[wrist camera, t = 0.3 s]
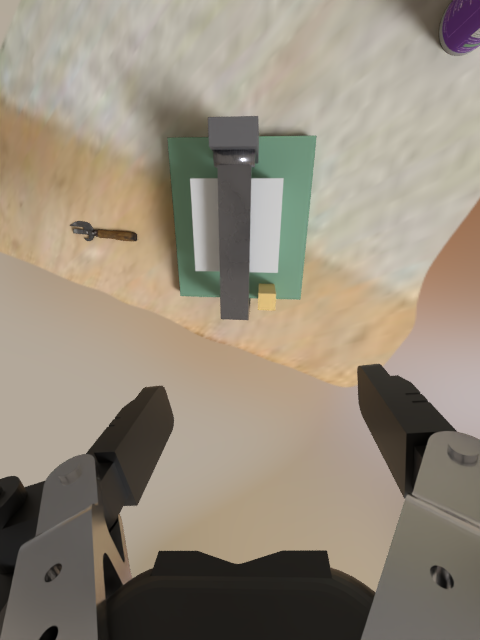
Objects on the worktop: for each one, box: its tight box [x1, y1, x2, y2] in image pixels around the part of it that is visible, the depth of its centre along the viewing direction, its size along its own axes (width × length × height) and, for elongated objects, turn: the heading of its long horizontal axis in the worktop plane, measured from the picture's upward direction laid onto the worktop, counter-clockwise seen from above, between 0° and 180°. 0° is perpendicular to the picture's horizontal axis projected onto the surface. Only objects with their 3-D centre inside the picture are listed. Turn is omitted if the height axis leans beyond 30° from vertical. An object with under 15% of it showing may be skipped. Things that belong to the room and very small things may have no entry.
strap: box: [213, 149, 255, 320], centre depth 28 cm, size 16×4×6 cm, turn 0°
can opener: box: [70, 221, 137, 241], centre depth 34 cm, size 9×2×1 cm, turn 79°
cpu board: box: [168, 116, 316, 310], centre depth 28 cm, size 18×16×10 cm
